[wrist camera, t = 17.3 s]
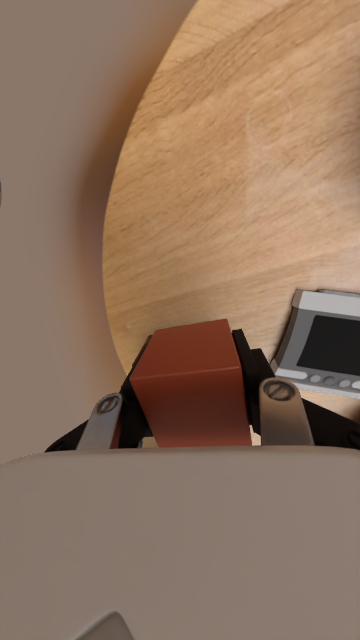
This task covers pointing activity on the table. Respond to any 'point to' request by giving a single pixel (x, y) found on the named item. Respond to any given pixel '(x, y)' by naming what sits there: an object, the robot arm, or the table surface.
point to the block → (193, 387)
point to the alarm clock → (322, 344)
